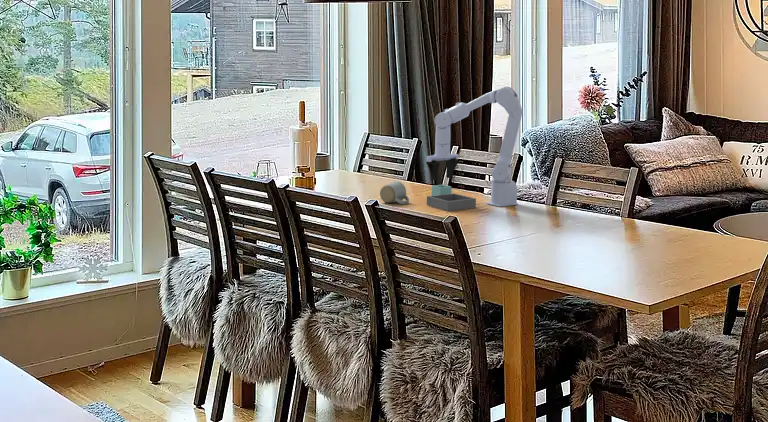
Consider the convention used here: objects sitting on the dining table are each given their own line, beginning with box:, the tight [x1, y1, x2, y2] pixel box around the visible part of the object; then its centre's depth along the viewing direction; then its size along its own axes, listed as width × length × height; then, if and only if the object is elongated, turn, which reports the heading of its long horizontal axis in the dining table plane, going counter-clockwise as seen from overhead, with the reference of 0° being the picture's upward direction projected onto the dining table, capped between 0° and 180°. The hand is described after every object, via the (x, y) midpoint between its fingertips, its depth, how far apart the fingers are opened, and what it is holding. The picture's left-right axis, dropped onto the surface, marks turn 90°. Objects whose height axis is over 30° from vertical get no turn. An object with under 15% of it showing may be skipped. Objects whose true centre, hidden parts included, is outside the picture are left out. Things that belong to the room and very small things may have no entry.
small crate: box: [431, 184, 453, 196], centre depth 364 cm, size 5×5×6 cm
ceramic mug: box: [379, 180, 410, 205], centre depth 358 cm, size 11×8×8 cm
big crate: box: [426, 193, 477, 212], centre depth 352 cm, size 13×13×4 cm
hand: (441, 179), depth 362 cm, fingers open, 7 cm apart
